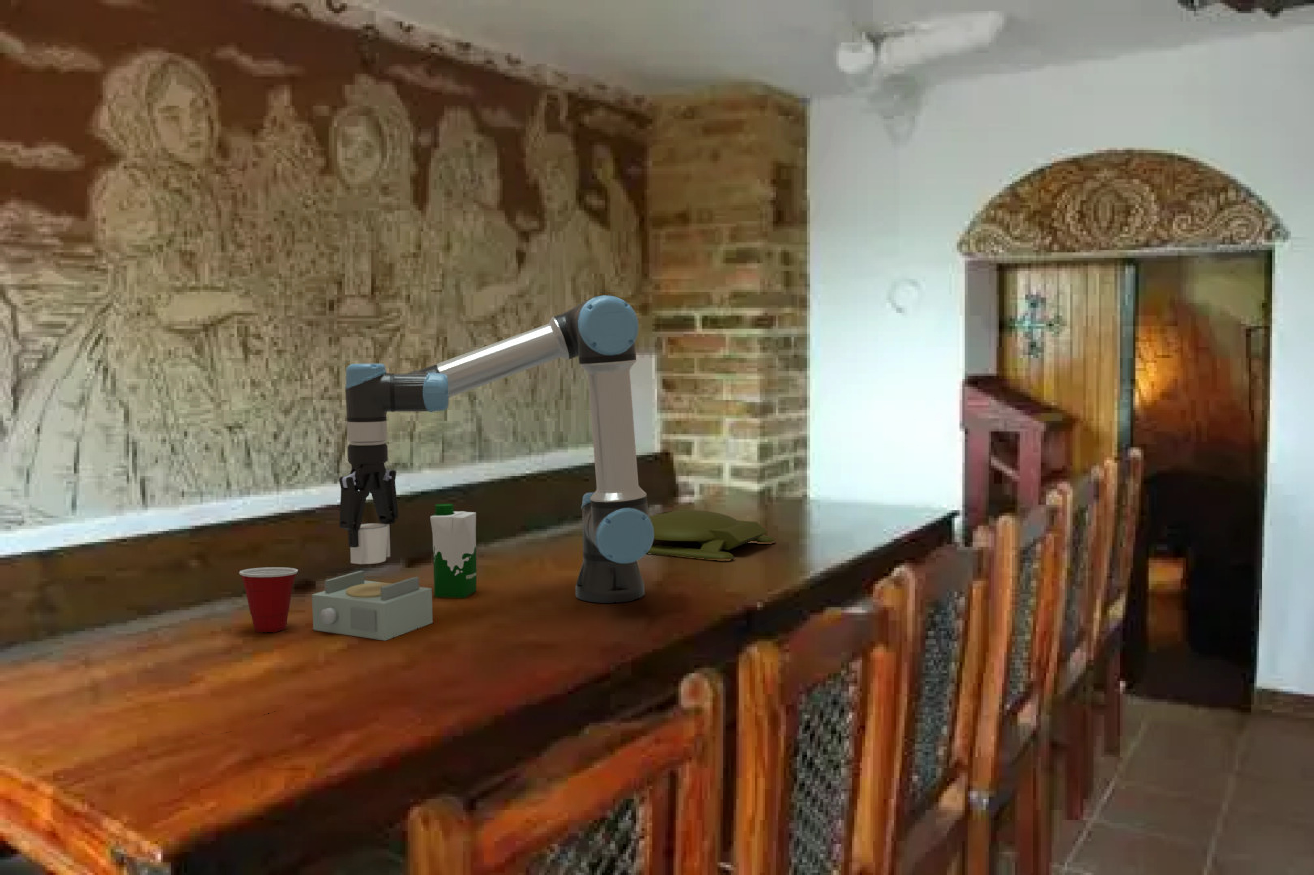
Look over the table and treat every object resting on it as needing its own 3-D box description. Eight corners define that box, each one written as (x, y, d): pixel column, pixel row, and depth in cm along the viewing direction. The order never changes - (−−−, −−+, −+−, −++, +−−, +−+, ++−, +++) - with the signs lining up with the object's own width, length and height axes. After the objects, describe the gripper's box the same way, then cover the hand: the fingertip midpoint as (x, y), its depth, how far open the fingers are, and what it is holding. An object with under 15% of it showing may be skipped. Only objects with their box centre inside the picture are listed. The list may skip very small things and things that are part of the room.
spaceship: (778, 544, 293) (778, 509, 293) (728, 564, 267) (728, 526, 266) (668, 534, 311) (667, 501, 310) (610, 552, 285) (610, 516, 284)
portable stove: (432, 622, 212) (431, 575, 211) (379, 642, 198) (377, 592, 197) (363, 613, 220) (361, 568, 219) (307, 631, 206) (305, 583, 205)
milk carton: (444, 588, 242) (442, 501, 240) (482, 590, 240) (480, 502, 238) (428, 597, 233) (426, 507, 231) (467, 599, 231) (465, 508, 229)
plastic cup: (312, 624, 212) (309, 564, 211) (276, 638, 202) (273, 576, 200) (267, 620, 215) (264, 561, 214) (229, 634, 205) (226, 572, 204)
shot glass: (349, 565, 205) (348, 529, 204) (356, 557, 212) (355, 523, 211) (386, 563, 205) (384, 528, 205) (391, 556, 212) (390, 522, 212)
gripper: (386, 438, 217) (389, 549, 219) (315, 446, 199) (319, 567, 201) (415, 439, 214) (418, 552, 216) (346, 448, 196) (350, 571, 198)
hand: (370, 559), depth 209 cm, fingers closed on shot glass, 7 cm apart
